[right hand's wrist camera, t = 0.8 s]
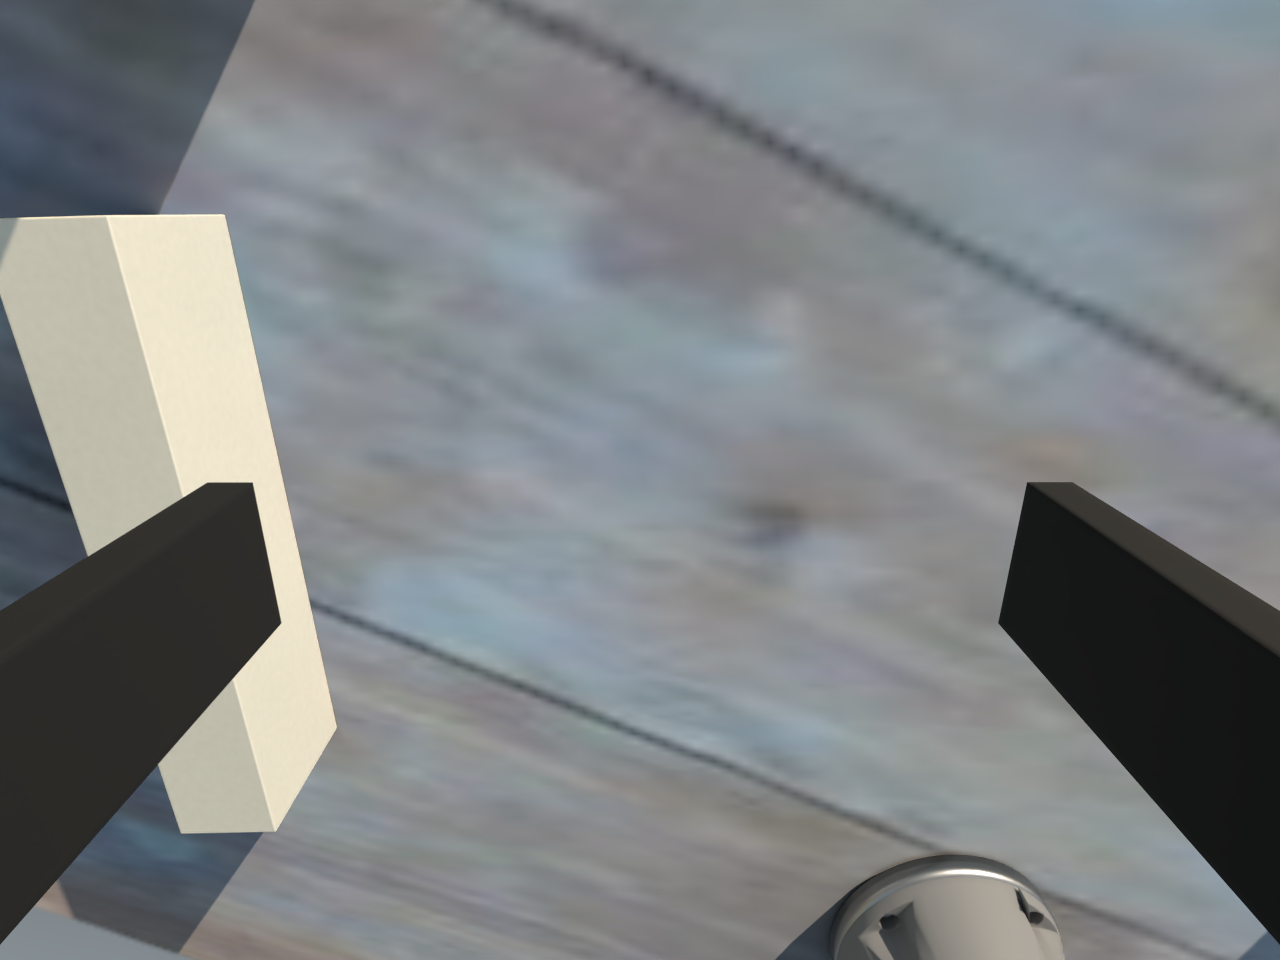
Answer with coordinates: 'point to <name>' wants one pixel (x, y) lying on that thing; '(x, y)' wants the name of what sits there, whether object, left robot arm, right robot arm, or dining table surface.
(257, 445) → the beam
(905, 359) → the dining table surface
